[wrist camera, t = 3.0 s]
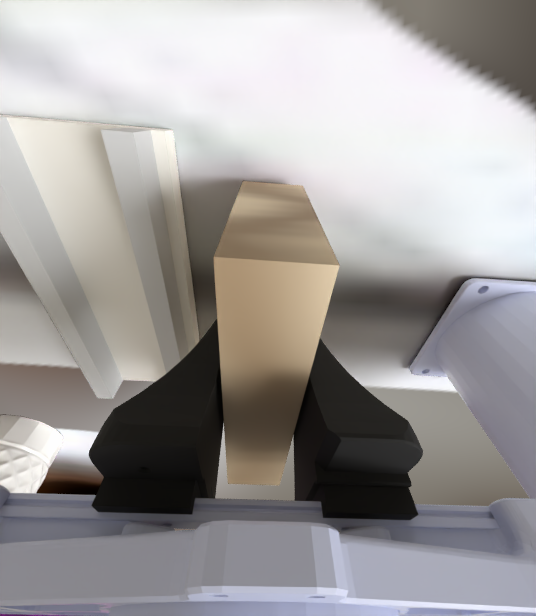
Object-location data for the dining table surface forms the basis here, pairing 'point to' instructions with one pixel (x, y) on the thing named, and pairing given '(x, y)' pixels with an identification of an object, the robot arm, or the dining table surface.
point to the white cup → (26, 452)
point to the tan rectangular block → (268, 322)
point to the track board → (101, 242)
